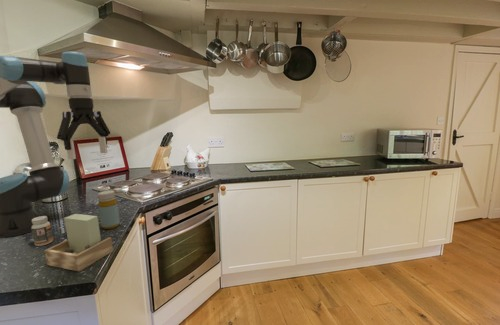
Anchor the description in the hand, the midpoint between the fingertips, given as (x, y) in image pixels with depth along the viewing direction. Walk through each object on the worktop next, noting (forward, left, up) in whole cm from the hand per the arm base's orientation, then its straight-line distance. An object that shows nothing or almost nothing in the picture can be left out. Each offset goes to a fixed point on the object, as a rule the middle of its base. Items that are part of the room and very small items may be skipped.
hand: (89, 155), depth 103 cm
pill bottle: (-16, -11, -32) cm, 37 cm away
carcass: (+8, -16, -32) cm, 36 cm away
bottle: (-3, +8, -32) cm, 33 cm away
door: (+8, -14, -30) cm, 34 cm away
